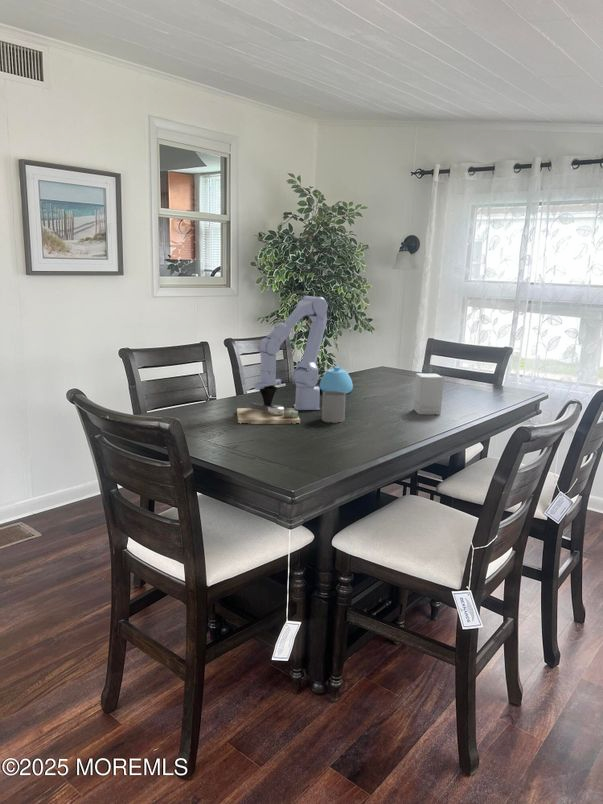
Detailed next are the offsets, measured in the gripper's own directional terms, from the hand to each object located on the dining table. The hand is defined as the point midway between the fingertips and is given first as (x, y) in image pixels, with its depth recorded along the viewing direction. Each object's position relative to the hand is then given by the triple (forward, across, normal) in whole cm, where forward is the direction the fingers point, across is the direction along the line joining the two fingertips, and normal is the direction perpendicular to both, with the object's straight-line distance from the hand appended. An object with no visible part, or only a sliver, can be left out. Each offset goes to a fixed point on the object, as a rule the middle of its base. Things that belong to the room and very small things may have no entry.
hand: (267, 405), depth 228 cm
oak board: (+3, +6, +4) cm, 8 cm away
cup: (+3, -7, +25) cm, 26 cm away
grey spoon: (+1, +5, +3) cm, 6 cm away
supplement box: (+3, -41, +48) cm, 63 cm away
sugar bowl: (+3, -53, +1) cm, 53 cm away
